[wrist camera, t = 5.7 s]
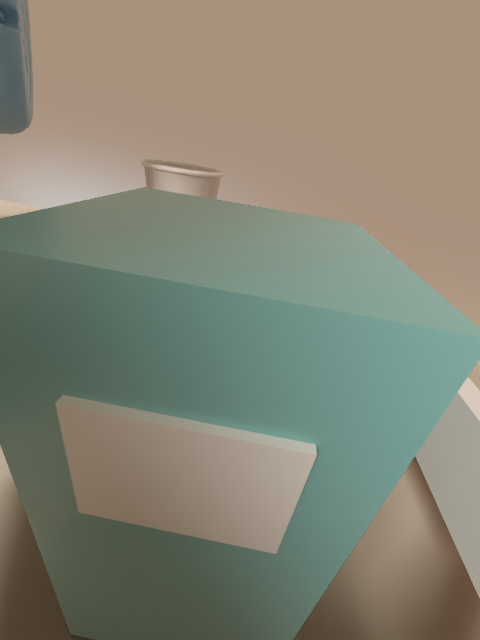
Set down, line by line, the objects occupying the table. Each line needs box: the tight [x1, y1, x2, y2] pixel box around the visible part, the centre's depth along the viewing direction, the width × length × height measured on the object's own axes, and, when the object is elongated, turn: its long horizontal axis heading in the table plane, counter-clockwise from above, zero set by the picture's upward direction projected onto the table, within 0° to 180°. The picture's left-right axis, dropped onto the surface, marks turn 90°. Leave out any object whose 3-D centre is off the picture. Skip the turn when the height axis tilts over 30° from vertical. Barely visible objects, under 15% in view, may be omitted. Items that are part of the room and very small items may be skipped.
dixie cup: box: [142, 159, 223, 199], centre depth 34 cm, size 8×8×10 cm
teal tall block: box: [0, 187, 480, 640], centre depth 8 cm, size 6×6×11 cm
